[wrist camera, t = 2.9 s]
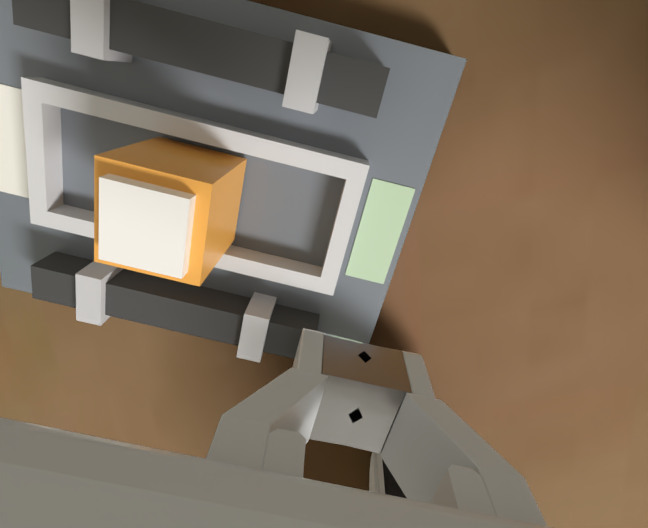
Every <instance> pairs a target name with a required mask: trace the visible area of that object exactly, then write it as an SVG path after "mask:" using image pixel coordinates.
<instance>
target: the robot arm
mask: <svg viewBox="0 0 648 528" xmlns="http://www.w3.org/2000/svg"><path fill="white" fill-rule="evenodd" d="M309 439H311V440H317V441H323V442H328V443H334V444H340V445H345V446H349V447H354V448H358V449H362V450H366V451H371V452H375V453H379V454H381V455H380V456H381V457H382V459H383V461H384V462H385V464H386V465H387V467H388V469H389V470H390V472H391V474H392V475H393V477H394V478H395V480H396V482H397V483H398V485H399V486H400V488H401V490H402V491H403V493H404V494H405V496H406V498H402V497H397V496H392V495H387V494H382V493H377V492H371V491H366V490H361V489H356V488H351V487H346V486H341V485H336V484H331V483H326V482H321V481H316V480H311V479H306V478H303V471H304V458H305V446H306V444H307V442H308V441H309ZM0 528H552V527H547V524H546V522H545V520H544V518H543V516H542V514H541V512H540V510H539V507H538V505H537V503H536V501H535V499H534V497H533V495H532V493H531V490H530V488H529V486H528V484H527V482H526V480H525V478H524V477H523V476H522V475H521V474H520V473H519V472H518V471H517V470H516V469H515V468H513V467H512V466H511V465H510V464H509V463H508V462H507V461H506V460H505V459H504V458H503V457H502V456H501V455H500V454H499V453H497V452H496V451H495V450H494V449H493V448H492V447H491V446H490V445H489V444H488V443H487V442H486V441H485V440H484V439H483V438H482V437H480V436H479V435H478V434H477V433H476V432H475V431H474V430H473V429H472V428H471V427H470V426H469V425H468V424H467V423H466V422H464V421H463V420H462V419H461V418H460V417H459V416H458V415H457V414H456V413H455V412H454V411H453V410H452V409H451V408H450V407H449V406H447V405H446V404H445V403H444V402H443V401H442V400H439V399H436V398H435V395H434V391H433V388H432V385H431V382H430V379H429V376H428V373H427V370H426V366H425V363H424V360H423V357H422V356H421V355H420V354H418V353H412V352H407V351H402V350H396V349H391V348H385V347H380V346H375V345H370V344H365V343H362V342H359V341H355V340H351V339H347V338H343V337H339V336H335V335H331V334H327V333H323V332H319V331H314V330H310V329H305V328H303V330H302V333H301V336H300V340H299V344H298V348H297V352H296V355H295V359H294V363H293V367H292V368H290V369H288V370H287V371H285V372H284V373H282V374H281V375H279V376H278V377H277V378H275V379H274V380H272V381H271V382H269V383H268V384H266V385H265V386H263V387H262V388H260V389H259V390H257V391H256V392H254V393H253V394H252V395H250V396H249V397H247V398H246V399H244V400H243V401H241V402H240V403H238V404H237V405H235V406H234V407H232V408H231V409H229V410H228V411H227V412H225V413H224V414H222V416H221V419H220V421H219V424H218V427H217V430H216V432H215V435H214V438H213V441H212V443H211V446H210V449H209V452H208V454H207V457H206V458H201V457H196V456H191V455H186V454H181V453H176V452H171V451H166V450H161V449H156V448H151V447H146V446H141V445H136V444H131V443H126V442H121V441H116V440H111V439H106V438H101V437H96V436H91V435H86V434H81V433H76V432H71V431H66V430H61V429H56V428H51V427H46V426H41V425H36V424H31V423H26V422H21V421H16V420H11V419H6V418H1V417H0Z"/></svg>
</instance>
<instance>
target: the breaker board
mask: <svg viewBox="0 0 648 528" xmlns="http://www.w3.org/2000/svg"><path fill="white" fill-rule="evenodd" d="M135 1H138V2H142V3H146V4H150V5H153V6H157V7H161V8H165V9H168V10H172V11H176V12H180V13H184V14H187V15H191V16H195V17H199V18H203V19H206V20H210V21H214V22H218V23H221V24H225V25H229V26H233V27H237V28H240V29H244V30H248V31H252V32H255V33H259V34H263V35H267V36H271V37H274V38H278V39H282V40H286V41H289V42H293V43H294V38H295V32H296V30H300V31H304V32H307V33H311V34H315V35H319V36H322V37H326V38H329V39H330V41H331V43H332V45H331V50H330V52H331V53H335V54H339V55H342V56H346V57H350V58H354V59H357V60H361V61H365V62H369V63H373V64H376V65H380V66H384V67H388V68H390V71H389V75H388V79H387V82H386V86H385V90H384V93H383V97H382V100H381V104H380V108H379V111H378V115H377V118H373V117H369V116H365V115H361V114H357V113H353V112H350V111H346V110H342V109H338V108H334V107H330V106H326V105H323V104H319V105H318V110H317V111H316V112H315V113H314V114H310V113H306V112H302V111H298V110H294V109H290V108H286V107H282V104H283V98H284V94H280V93H276V92H272V91H268V90H265V89H261V88H257V87H253V86H249V85H245V84H241V83H238V82H234V81H230V80H226V79H222V78H218V77H214V76H211V75H207V74H203V73H199V72H195V71H191V70H187V69H184V68H180V67H176V66H172V65H168V64H164V63H160V62H157V61H153V60H149V59H145V58H141V57H137V56H132V63H129V62H117V61H106V60H100V59H96V58H92V57H89V56H85V55H81V54H77V53H73V52H71V39H68V38H64V37H60V36H56V35H52V34H49V33H45V32H41V31H37V30H33V29H29V28H25V27H22V26H18V25H14V24H13V11H12V0H0V272H1V281H2V286H3V287H8V288H12V289H16V290H20V291H25V292H29V293H32V282H31V268H30V266H31V265H32V264H34V263H36V262H38V261H39V260H41V259H43V258H45V257H46V256H48V255H50V254H52V253H53V252H55V251H56V252H60V253H64V254H69V255H73V256H77V257H81V258H85V259H90V260H94V155H96V154H100V153H103V152H107V151H110V150H114V149H117V148H121V147H124V146H128V145H131V144H135V143H138V142H142V141H145V140H149V139H152V138H156V137H163V138H167V139H170V140H174V141H178V142H182V143H186V144H190V145H194V146H198V147H202V148H206V149H210V150H214V151H218V152H222V153H226V154H230V155H234V156H238V157H242V158H246V159H247V162H246V168H245V175H244V181H243V188H242V194H241V200H240V207H239V213H238V220H237V226H236V232H235V239H234V241H233V242H232V244H231V245H230V246H229V248H228V249H227V250H226V252H225V253H224V254H223V256H222V257H221V258H220V260H219V261H218V263H217V264H216V265H215V267H214V268H213V269H212V271H211V272H210V273H209V275H208V276H207V277H206V279H205V280H204V281H203V283H202V284H201V285H200V286H203V287H207V288H211V289H216V290H220V291H224V292H228V293H232V294H237V295H241V296H245V297H249V298H252V296H253V294H254V292H257V293H261V294H265V295H269V296H274V297H277V299H276V303H275V304H279V305H283V306H287V307H291V308H295V309H300V310H304V311H308V312H312V313H316V314H320V316H319V324H318V331H319V332H323V333H327V334H331V335H335V336H339V337H343V338H347V339H351V340H355V341H359V342H362V343H365V344H369V342H370V339H371V337H372V334H373V331H374V328H375V325H376V322H377V319H378V316H379V313H380V310H381V307H382V305H383V302H384V299H385V296H386V293H387V290H388V287H389V284H390V281H391V278H392V276H393V273H394V270H395V267H396V264H397V261H398V258H399V255H400V252H401V249H402V246H403V244H404V241H405V238H406V235H407V232H408V229H409V226H410V223H411V220H412V217H413V215H414V212H415V209H416V206H417V203H418V200H419V197H420V194H421V191H422V188H423V185H424V183H425V180H426V177H427V174H428V171H429V168H430V165H431V162H432V159H433V156H434V154H435V151H436V148H437V145H438V142H439V139H440V136H441V133H442V130H443V127H444V124H445V122H446V119H447V116H448V113H449V110H450V107H451V104H452V101H453V98H454V95H455V93H456V90H457V87H458V84H459V81H460V78H461V75H462V72H463V69H464V66H465V63H466V61H467V59H465V58H461V57H458V56H454V55H450V54H446V53H443V52H439V51H435V50H431V49H428V48H424V47H420V46H416V45H413V44H409V43H405V42H402V41H398V40H394V39H390V38H387V37H383V36H379V35H375V34H372V33H368V32H364V31H360V30H357V29H353V28H349V27H345V26H342V25H338V24H334V23H331V22H327V21H323V20H319V19H316V18H312V17H308V16H304V15H301V14H297V13H293V12H289V11H286V10H282V9H278V8H274V7H271V6H267V5H263V4H260V3H256V2H252V1H248V0H135Z"/></svg>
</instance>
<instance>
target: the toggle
mask: <svg viewBox="0 0 648 528" xmlns="http://www.w3.org/2000/svg"><path fill="white" fill-rule="evenodd" d="M246 162H247V159H246V158H242V157H238V156H234V155H230V154H226V153H222V152H218V151H214V150H210V149H206V148H202V147H198V146H194V145H190V144H186V143H182V142H178V141H174V140H170V139H167V138H163V137H156V138H152V139H149V140H145V141H142V142H138V143H135V144H131V145H128V146H124V147H121V148H117V149H114V150H110V151H107V152H103V153H100V154H96V155H94V262H98V263H103V264H107V265H111V266H115V267H119V268H124V269H128V270H132V271H136V272H140V273H145V274H149V275H153V276H157V277H161V278H166V279H170V280H174V281H178V282H182V283H187V284H191V285H195V286H199V287H200V285H201V284H202V283H203V281H204V280H205V279H206V277H207V276H208V275H209V273H210V272H211V271H212V269H213V268H214V267H215V265H216V264H217V263H218V261H219V260H220V258H221V257H222V256H223V254H224V253H225V252H226V250H227V249H228V248H229V246H230V245H231V244H232V242H233V241H234V239H235V232H236V226H237V220H238V213H239V207H240V200H241V194H242V188H243V181H244V175H245V168H246Z"/></svg>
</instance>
